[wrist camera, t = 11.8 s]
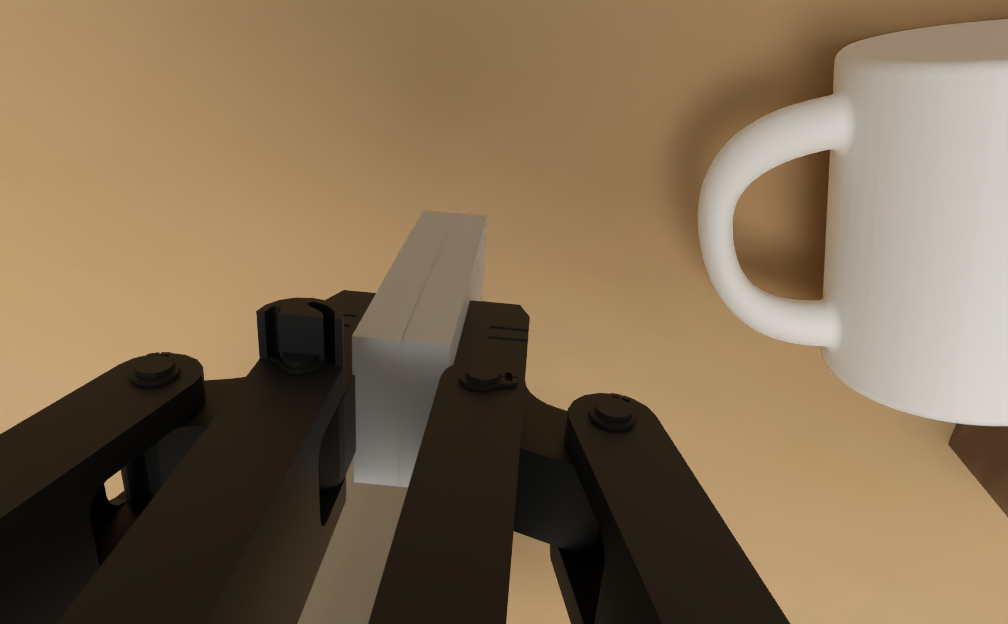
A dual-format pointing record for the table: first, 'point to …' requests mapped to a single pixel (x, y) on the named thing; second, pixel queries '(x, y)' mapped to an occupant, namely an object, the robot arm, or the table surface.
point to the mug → (893, 221)
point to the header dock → (985, 457)
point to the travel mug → (355, 555)
